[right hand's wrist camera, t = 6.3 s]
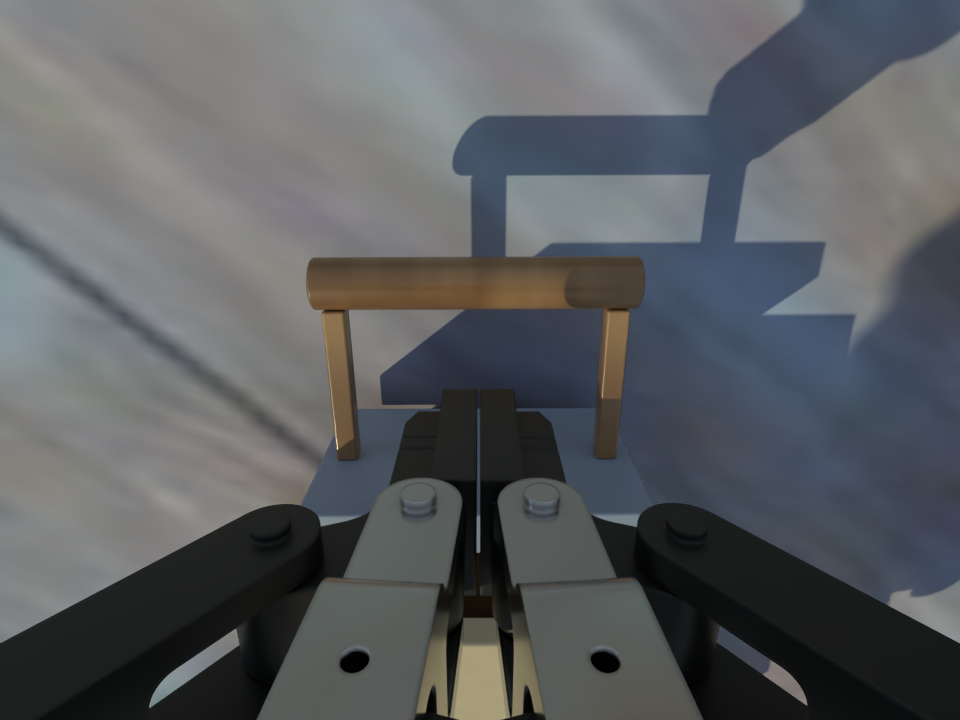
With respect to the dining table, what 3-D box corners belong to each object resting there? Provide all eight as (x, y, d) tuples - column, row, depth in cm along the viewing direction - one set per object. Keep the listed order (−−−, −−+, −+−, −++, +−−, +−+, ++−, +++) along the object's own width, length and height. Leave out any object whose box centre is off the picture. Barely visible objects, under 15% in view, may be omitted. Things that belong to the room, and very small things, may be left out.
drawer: (329, 237, 17) (260, 285, 12) (622, 236, 17) (689, 282, 12) (377, 724, 25) (349, 889, 20) (580, 722, 25) (609, 887, 20)
